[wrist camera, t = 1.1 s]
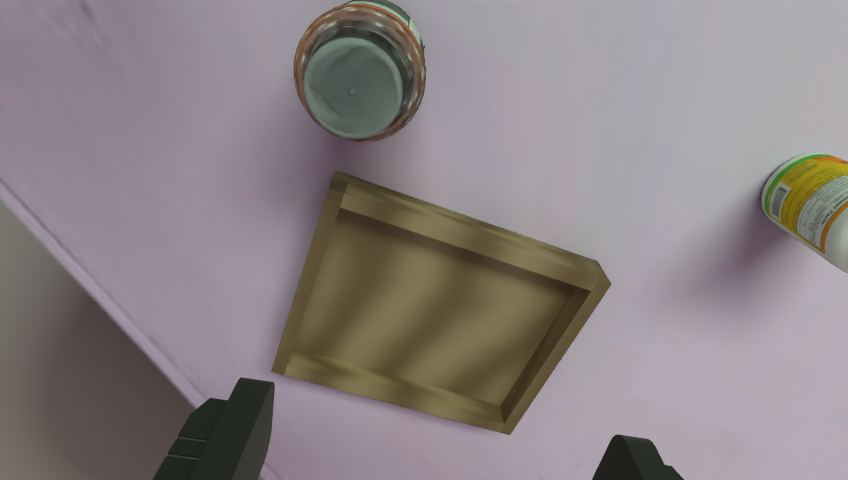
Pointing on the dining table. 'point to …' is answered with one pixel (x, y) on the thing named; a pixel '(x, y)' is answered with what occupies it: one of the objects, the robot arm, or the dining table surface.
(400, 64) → the supplement bottle
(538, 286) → the serving tray
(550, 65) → the dining table surface
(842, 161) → the supplement bottle
